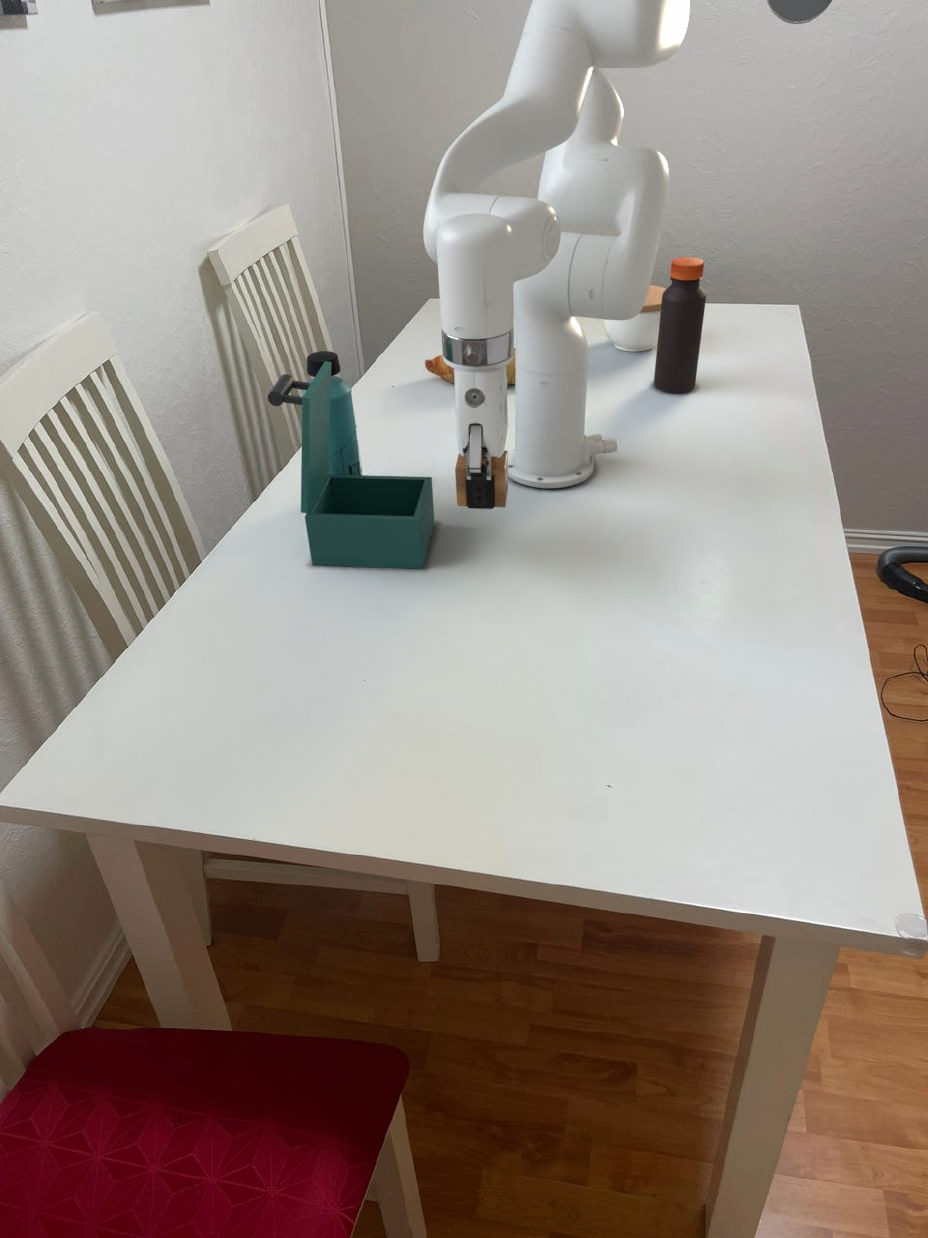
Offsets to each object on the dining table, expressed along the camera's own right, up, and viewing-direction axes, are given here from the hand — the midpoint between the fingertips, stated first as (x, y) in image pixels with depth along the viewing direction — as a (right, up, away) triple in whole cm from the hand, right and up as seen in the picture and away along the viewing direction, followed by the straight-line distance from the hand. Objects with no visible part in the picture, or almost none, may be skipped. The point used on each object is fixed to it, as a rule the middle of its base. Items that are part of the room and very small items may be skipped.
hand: (482, 494), depth 107 cm
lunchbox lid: (-19, +7, 0) cm, 20 cm away
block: (0, 0, 0) cm, 0 cm away
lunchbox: (-13, -5, +8) cm, 16 cm away
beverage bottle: (-19, +2, +18) cm, 26 cm away
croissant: (+2, +26, +50) cm, 56 cm away
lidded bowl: (+29, +36, +61) cm, 76 cm away
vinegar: (+33, +24, +45) cm, 61 cm away
